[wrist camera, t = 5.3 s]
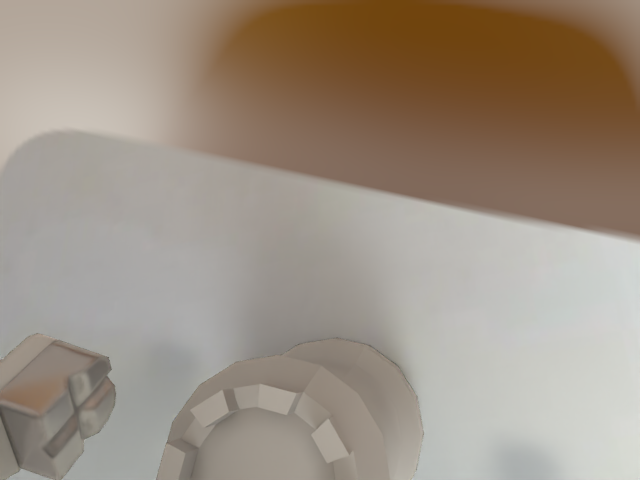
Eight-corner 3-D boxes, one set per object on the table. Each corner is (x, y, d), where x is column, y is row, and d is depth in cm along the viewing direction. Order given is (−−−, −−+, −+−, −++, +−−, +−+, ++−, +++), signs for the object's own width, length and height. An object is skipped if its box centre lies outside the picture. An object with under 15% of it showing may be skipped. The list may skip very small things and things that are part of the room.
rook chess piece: (296, 311, 15) (181, 253, 8) (450, 383, 14) (499, 400, 7) (224, 467, 15) (19, 576, 7) (380, 553, 14) (343, 794, 6)
